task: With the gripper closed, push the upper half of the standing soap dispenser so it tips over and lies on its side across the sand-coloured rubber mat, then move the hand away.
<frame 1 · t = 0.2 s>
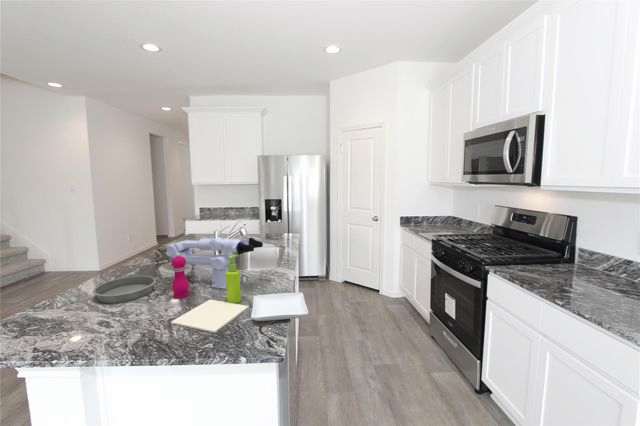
hand: (258, 246, 140), 21 cm above the counter, tool horizontal, fingers open, 7 cm apart
pepper mill: (181, 296, 137), on the counter
cake pan: (126, 294, 141), on the counter
mat: (212, 315, 119), on the counter
salad plate: (279, 311, 122), on the counter
soap dispenser: (234, 300, 132), on the counter
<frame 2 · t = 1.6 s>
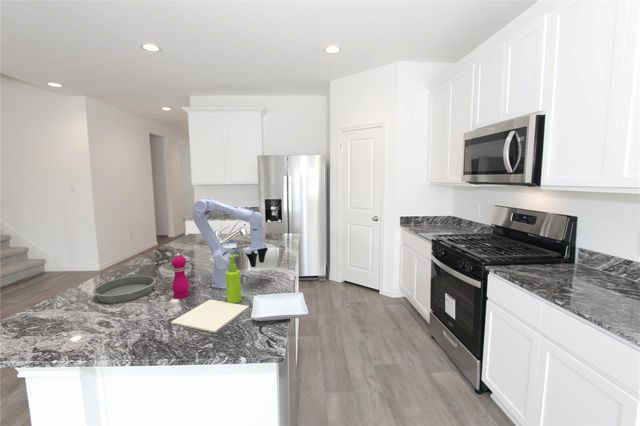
hand: (257, 264, 148), 10 cm above the counter, tool pointing down, fingers open, 7 cm apart
nothing on the counter moved.
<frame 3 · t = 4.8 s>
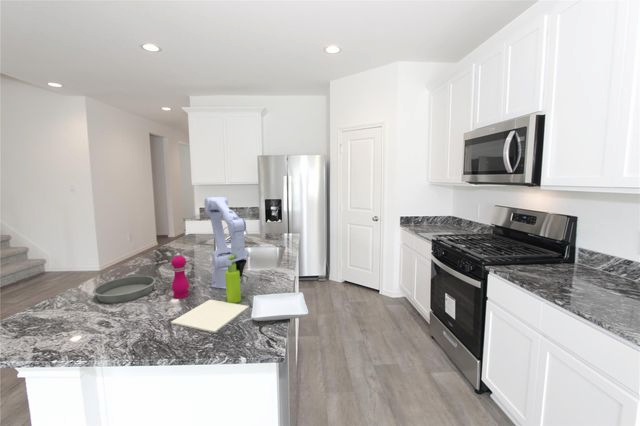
hand: (239, 276, 134), 9 cm above the counter, tool pointing down, fingers closed
soap dispenser: (234, 300, 132), on the counter, touching gripper
everything else where it was.
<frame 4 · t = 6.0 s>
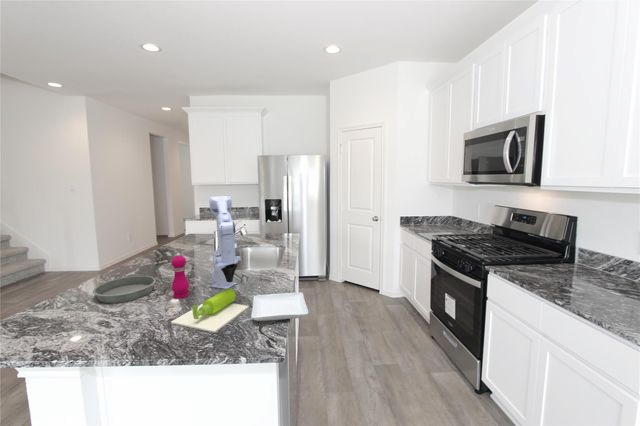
hand: (229, 281, 128), 9 cm above the counter, tool pointing down, fingers closed
soap dispenser: (230, 293, 129), point 4 cm above the counter, touching mat
everything else where it was.
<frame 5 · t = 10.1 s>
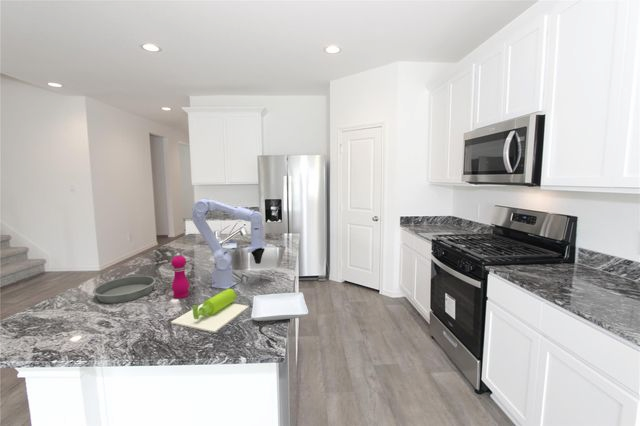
hand: (258, 263, 150), 10 cm above the counter, tool pointing down, fingers closed
nothing on the counter moved.
at the end: soap dispenser tilted 90°; soap dispenser inside the target area (0.1 cm from its centre), point 4.1 cm above the counter; soap dispenser touching mat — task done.
